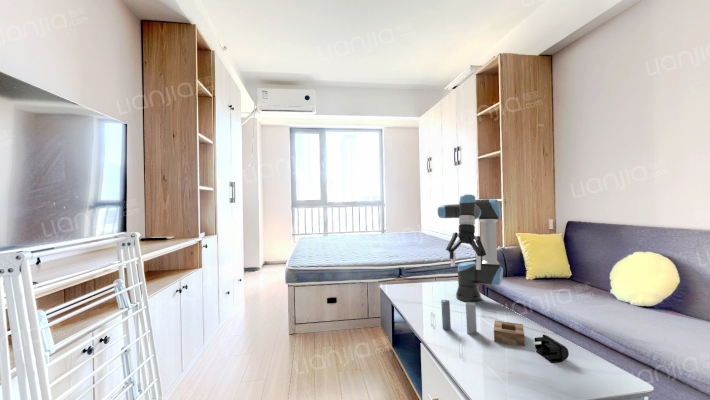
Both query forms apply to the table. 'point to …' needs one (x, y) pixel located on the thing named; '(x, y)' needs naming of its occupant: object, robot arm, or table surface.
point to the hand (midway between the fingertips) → (465, 268)
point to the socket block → (509, 333)
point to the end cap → (551, 349)
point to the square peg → (471, 318)
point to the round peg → (446, 314)
